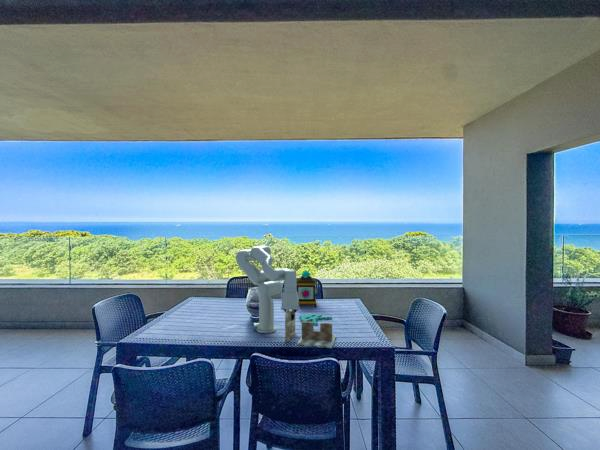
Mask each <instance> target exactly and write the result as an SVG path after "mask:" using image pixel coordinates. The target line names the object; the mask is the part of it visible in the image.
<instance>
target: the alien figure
mask: <svg viewBox="0 0 600 450" xmlns="http://www.w3.org/2000/svg"><path fill="white" fill-rule="evenodd" d="M298 318H299V321H300V323H302V321H306V322H313V323H314V326H315V327H317V326H318V325H319V323H318V321H323V320H325V321H328V320H329V321H331V320H332V319H333V316H323V314H320V313H316V314H315V313H312V314H311V313H308V314H306V313H304V314H301V315H299V317H298Z"/></svg>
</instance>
